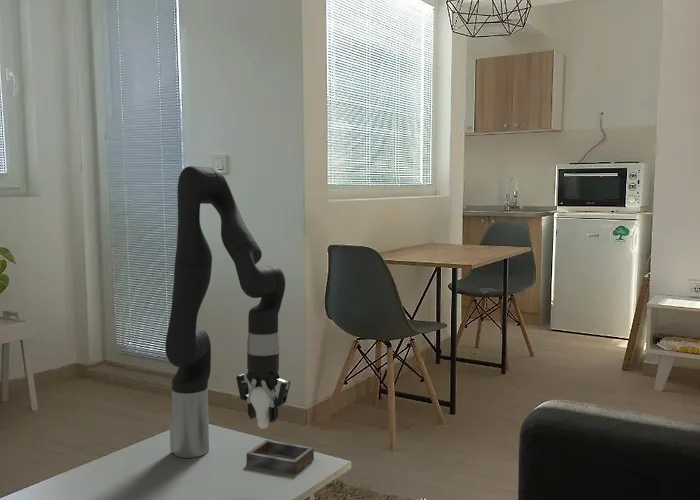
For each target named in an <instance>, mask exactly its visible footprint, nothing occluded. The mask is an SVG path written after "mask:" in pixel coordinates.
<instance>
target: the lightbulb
mask: <svg viewBox="0 0 700 500" xmlns="http://www.w3.org/2000/svg"><path fill="white" fill-rule="evenodd" d="M270 392H271V394H272V393H274V390H272V391H270ZM273 399H274V401H275V396H274V397H273ZM250 400H251V403H252V405H253V407H254V408H255V411H256V417H255V418H256V419H257V427H258V428H260V429H261V430H265V429H266V428H267V427H269V407H270V398H268V396H267V394H266V393H265V391H264V388H263V387H256V388H255V389H254V390H253V391H252V392H251V394H250Z"/></svg>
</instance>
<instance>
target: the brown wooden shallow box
mask: <svg viewBox="0 0 700 500" xmlns="http://www.w3.org/2000/svg"><path fill="white" fill-rule="evenodd" d="M268 453H269V454H274V455H275V454H276V455H280V456H284V457H291V458H295V459H289V458H284V457H278V456H273V455H267V454H268ZM245 454H246V466H250V467H256V468H262V469H267V470H272V471H277V472H283V473H286V474H287V473H288V474H292V475H296V474H298V473H299V472H300V471H302V469H304V468H305V467H306V466H307V465H309V464H310V463H311V462H312V461H313V460H314V458H315V457H314V456H315V449H314V447H311V446H305V445H299V444H295V443H289V442H288V443H287V442H283V441H282V442H281V441H276V440H271V439H265V440H263V442H261V443H259V444H258V445H256V446H255V447H254V448H252V449H251V450H249V451H247V452H246V453H245Z"/></svg>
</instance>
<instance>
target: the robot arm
mask: <svg viewBox="0 0 700 500" xmlns="http://www.w3.org/2000/svg"><path fill="white" fill-rule="evenodd" d="M202 204H203V205H204V204H206V205H207V204H210V205H211V206H212V207H213V208H214V209H215V210H216V211H217V213H218V215H219V217H220V237H221V241H222V244H223V247H224V248H225V250H226V251H227V253H228V255H229V256H230V258H231V260H232V262H233V263H234V265H235V271H236V274H237V278H238V282H239V285H240V288H241V290H242V292H243V293H244V294H245V295H246V296H247V297H249V298H252V299H258V298H259V299H260V300H259V303H258V304H257V305H254V306H253V307H252V308H250V309H249V311H248V315H247V317H248V319H247V320H248V322H247V323H248V324H247V325H248V326H247V327H248V331H247V332H248V333H247V334H248V335H247V340H246V341H247V342H246V345H247V346H246V348H247V349H246V351H247V352H246V353H247V354H246V357H247V358H246V360H247V361H246V363H247V364H246V368H247V373H240V374H238V375H237V376H236V383H237V388H238V393H239V398H240V400H242V401H245V402H246V403H247V416H249V419H255V418H256V411H255V408H254V407H253V405H252V403H251V400H250V394H251V392H252V391H253V390H254V389H255V388H256V387H263V388H264V391H265V393H266V394H267V396H268V398H270V407H269V421H268V423H274V422H276V421H277V419H279V407H281V406H282V405H284V404H286V403H287V399H288V394H289V391H290V386H291V380H289V379H287V380H284V379H282V378H281V377H280V374H279V369H280V336H279V314H280V310H281V307H282V306H281V305H282V302H283V298H284V295H285V290H286V277H285V275H284V272H283V271H282V269H280V268H279V267H278V266H276V265H275V266H274V265H268V266H259V267H258V266H257V265H256V264H258V263H259V262H260V261H261V259H262V256H263V253H262V250H261V248H260V246H259V245H258V243H257V241H256V240H255V238H254V236H253V235H252V233H251V232H250V231H249V229H248V227H247V225H246V223H245V221H244V220H243V217H242V215H241V212H240V210H239V207H238V205H237V202H236V200H235V197H234V195H233V193H232V191H231V187H230V185H229V183H228V181H227V179H226V177H225V175H224V174H223V172H222V171H220V170H219V169H218V168H214V167H206V166H194V165H192V166H191V165H189V166H186V167H184V168H183V169H182V170H181V172H180V174H179V177H178V181H177V233H176V234H177V237H176V250H175V257H174V259H175V260H174V270H173V286H172V296H171V297H172V299H171V310H170V315H169V316H170V317H169V321H168V322H169V323H168V326H167V333H166V337H165V345H164V346H165V347H164V349H165V355H166V358H167V360H168V361H169V363H170V364H172V365H173V366H175V367H177V371H176V373H175V375H173V378H171V398H172V399H171V401H172V402H171V403H172V404H171V405H172V415H171V416H170V417H169V447H170V450H169V451H170V454H171V453H173V455H174V456H176V457H178V458H183V459H185V458H186V459H188V458H189V459H190V458H197V457H198V458H199V457H201V456H204V455H207V454H208V453H209V451H210V427H209V426H210V425H209V392H208V389H209V388H208V387H209V379H210V376H211V367H212V346H211V345H212V344H211V339H210V336H209V334H208V333H207V331H206V330H205V329H204V328H203V327H200V326H198V325H197V321H198V315H199V312H200V308H201V306H202V303H203V301H204V298H205V297H206V294H207V292H208V289H209V285H210V283H211V276H212V265H213V254H212V250H211V248H210V245H209V243H208V240H207V239H206V236H205V234H204V232H203V230H202V225H201V222H200V221H201V218H200V217H201V214H200V213H201V212H200V211H201V205H202ZM248 383H249V384H248ZM277 385H278V389H279V391H278V389H277ZM249 386H250V387H249ZM272 390H274V393H272V394H271V392H270V391H272ZM274 396H275V401H274V399H273V397H274Z"/></svg>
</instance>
